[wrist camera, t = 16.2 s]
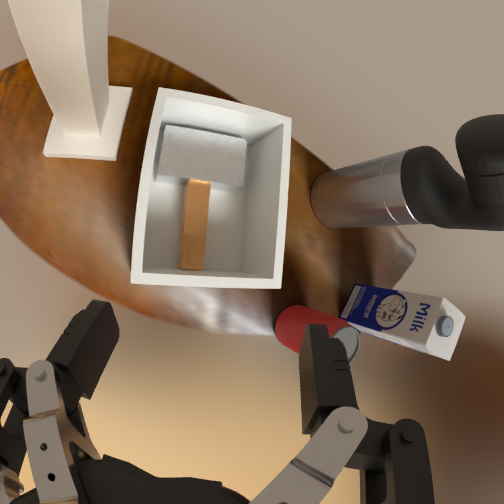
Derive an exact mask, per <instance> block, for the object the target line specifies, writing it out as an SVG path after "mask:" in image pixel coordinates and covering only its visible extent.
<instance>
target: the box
mask: <svg viewBox="0 0 504 504" xmlns="http://www.w3.org/2000/svg"><path fill="white" fill-rule="evenodd" d="M291 121H292V119H291V118H289V117H286V116H282V115H279V114H276V113H273V112H269V111H265V110H262V109H259V108H255V107H252V106H248V105H244V104H240V103H236V102H232V101H228V100H224V99H220V98H215V97H211V96H206V95H201V94H196V93H191V92H186V91H180V90H174V89H168V88H161V87H159V89H158V93H157V97H156V101H155V105H154V109H153V113H152V118H151V122H150V127H149V132H148V137H147V142H146V147H145V152H144V158H143V164H142V170H141V177H140V183H139V190H138V198H137V206H136V215H135V225H134V235H133V248H132V263H131V283H135V284H152V285H171V286H194V287H222V288H264V289H281V282H282V270H283V258H284V245H285V231H286V217H287V201H288V185H289V166H290V146H291ZM166 125H171V126H177V127H184V128H190V129H196V130H201V131H207V132H212V133H217V134H222V135H227V136H232V137H237V138H241V139H246V140H247V147H246V159H245V170H244V182H243V187H241V188H239V189H237V190H235V191H232V192H228V191H221V190H214V189H210V199H209V209H208V220H207V232H206V245H205V258H204V270H190V269H180V268H178V267H177V266H178V251H179V238H180V226H181V216H182V206H183V196H184V187H185V186H184V185H176V184H168V183H159V182H155V176H156V169H157V162H158V156H159V150H160V144H161V138H162V135H163V132H164V129H165V126H166Z"/></svg>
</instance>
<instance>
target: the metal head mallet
mask: <svg viewBox="0 0 504 504" xmlns="http://www.w3.org/2000/svg"><path fill="white" fill-rule="evenodd" d="M246 147H247V140H246V139H241V138H237V137H232V136H227V135H222V134H217V133H212V132H207V131H201V130H196V129H190V128H184V127H177V126H171V125H166V126H165V129H164V132H163V135H162V138H161V144H160V150H159V156H158V162H157V169H156V176H155V182H159V183H168V184H176V185H184V186H185V187H184V196H183V206H182V216H181V226H180V238H179V251H178V266H177V267H178V268H180V269H190V270H204V258H205V245H206V232H207V220H208V209H209V199H210V189H214V190H221V191H228V192H232V191H235V190H237V189H239V188H241V187H243V182H244V170H245V159H246Z"/></svg>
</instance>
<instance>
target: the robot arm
mask: <svg viewBox="0 0 504 504" xmlns="http://www.w3.org/2000/svg"><path fill="white" fill-rule="evenodd" d="M455 141H456V149H457V153H458V157H459V160H460V163H461V167H462V170H463V173H464V176H465V179H464V178H463V177H462V176H460V175H459V174H458V173H457V172H456V171H455V170H454V169H453V168H452V166H451V165H450V164H449V163H448V161H447V160H446V159H445V158H444V156H443V155H442V154H441V153H440V152H439V151H437V150H436V149H434V148H433V147H430V146H420V147H416V148H413V149H409V150H405V151H401V152H397V153H393V154H390V155H386V156H383V157H379V158H375V159H372V160H368V161H364V162H361V163H358V164H354V165H351V166H347V167H344V168H340V169H337V170H334V171H330V172H327V173H324V174H322V175H320V176H319V177H318V178H317V179H316V180H315V182H314V184H313V186H312V190H311V204H312V208H313V211H314V213H315V215H316V217H317V218H318V219H319V221H320V222H321V223H323V224H324V225H325V226H327V227H330V228H352V227H373V226H395V225H415V224H433V225H436V226H438V227H441V228H448V229H474V230H488V231H504V114H497V115H487V116H482V117H478V118H475V119H472V120H470V121H468V122H466V123H465V124H463V125H462V126H461V127H460V129H459V130H458V132H457V135H456V139H455ZM118 339H119V326H118V323H117V321H116V317H115V315H114V312H113V308H112V306H111V304H110V303H109V302H105V301H99V300H92V301H91V302H90V304H89V305H88V306H87V308H86V309H85V310H81V311H80V312H79V313H78V314H76V315H75V316H74V317H73V318H72V320H71V321H70V323H69V324H68V327H66V329H65V330H64V333H63V334H62V335H61V336H60V338H59V340H58V341H57V343H56V344H55V346H54V347H53V349H52V350H51V352H50V354H49V355H48V357H47V358H46V360H38V361H36V362H34V363H32V364H31V365H30V366H29V368H20V367H15V366H14V365H13V363H12V362H11V361H10V360H9V359H7V358H2V359H0V419H1V416H2V413H3V411H4V409H5V407H6V405H7V402H8V400H10V401H11V402H12V403H13V406H12V408H11V410H10V413H9V415H8V417H7V420H6V422H5V425H4V427H2V426H1V422H0V504H319V503H320V502H321V500H322V499H323V498H324V497H325V496H326V494H327V493H328V492H329V490H330V489H331V487H332V486H333V482H334V480H335V479H336V477H337V476H338V474H339V473H340V472H341V470H342V469H343V467H347V468H353V469H358V470H360V502H361V504H435V502H434V491H433V482H432V474H431V467H430V461H429V455H428V449H427V443H426V438H425V433H424V430H423V428H422V427H421V425H420V424H419V423H418V422H416V421H414V420H412V419H402V420H399V421H397V422H396V423H395V424H394V425H392V424H386V423H381V422H376V421H373V420H370V419H368V418H367V417H365V415H364V414H363V413H362V412H361V411H360V410H359V408H358V406H357V401H356V396H355V391H354V385H353V380H352V375H351V371H350V366H349V362H348V356H347V352H346V348H345V346H344V345H343V344H342V342H341V341H340V340H339V338H329V333H328V328H327V325H326V324H307V325H306V328H305V332H304V336H303V340H302V343H301V347H300V352H299V371H300V388H301V389H300V391H301V409H302V410H301V411H302V434H310V437H311V439H310V441H309V442H308V443H307V444H306V445H305V446H304V448H303V449H302V450H301V451H300V452H299V454H298V455H297V456H296V457H295V458H294V459H293V460H292V461H291V462H290V463H289V464H288V465H287V466H286V467H285V468H284V469H283V470H282V471H281V472H280V473H279V474H278V475H277V476H276V478H274V479H273V480H272V482H271V483H270V484H269V485H268V486H267V487H266V488H265V489H264V490H262V492H260V493H259V494H258V495H257V496H256V497H255V498H254V499H253V500H252V501H251V502H250V501H249V500H248V499H247V498H245V497H244V496H242V495H241V494H239V493H237V492H236V491H233V490H231V489H229V488H226V487H223V486H222V482H219V481H211V480H204V479H198V478H192V477H183V478H159V477H155V476H153V475H151V474H149V473H147V472H145V471H143V470H142V469H140V468H138V467H136V466H135V465H133V464H131V463H129V462H126V461H123V460H120V459H116V458H114V457H111V456H108V455H105V454H104V455H103V458H102V459H101V457H100V455H99V453H98V451H97V450H96V448H95V447H94V445H93V443H92V442H91V439H90V436H89V433H88V430H87V426H86V423H85V420H84V416H83V412H82V409H81V405H80V403H79V400H80V398H81V397H84V398H87V399H89V400H90V399H91V397H92V395H93V392H94V390H95V388H96V386H97V384H98V381H99V379H100V377H101V375H102V373H103V371H104V368H105V366H106V364H107V362H108V360H109V358H110V356H111V354H112V352H113V350H114V348H115V346H116V344H117V342H118ZM26 451H27V452H28V457H29V462H30V466H31V470H32V474H33V478H34V482H35V485H36V488H34V489H32V490H30V491H28V492H26V493H25V494H23V495H20V493H22V492H23V491H24V486H23V484H22V483H21V482H20V481H19V478H18V477H19V473H20V470H21V467H22V463H23V460H24V457H25V454H26Z"/></svg>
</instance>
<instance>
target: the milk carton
mask: <svg viewBox="0 0 504 504" xmlns="http://www.w3.org/2000/svg"><path fill="white" fill-rule="evenodd" d="M339 318H340V319H343V320H345V321H346V322H348V323H349V324H350V325H351V326H352V327H354V328H355V329H357V330H358V331H360V332H363V333H366V334H369V335H372V336H375V337H378V338H381V339H384V340H387V341H390V342H393V343H396V344H399V345H402V346H405V347H408V348H412V349H415V350H418V351H422V352H424V353H428V354H430V355H434V356H437V357H440V358H443V359H446V360H450V359H451V356H452V353H453V351H454V348H455V346H456V343H457V341H458V338H459V335H460V332H461V329H462V326H463V323H464V320H465V316H464V315H463V314H462V313H461V311H460V310H459V309H458V308H456V307H455V306H454V305H453V304H452V303H451V302H449V301H448V300H447V299H446V298H445V297H443V298H441V297H435V296H428V295H422V294H416V293H409V292H403V291H396V290H391V289H385V288H379V287H373V286H367V285H361V284H355V285H354V287H353V289H352V292H351V294H350V296H349V298H348V300H347V302H346V304H345V306H344V309H343V311H342V313H341V315H340V317H339Z"/></svg>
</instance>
